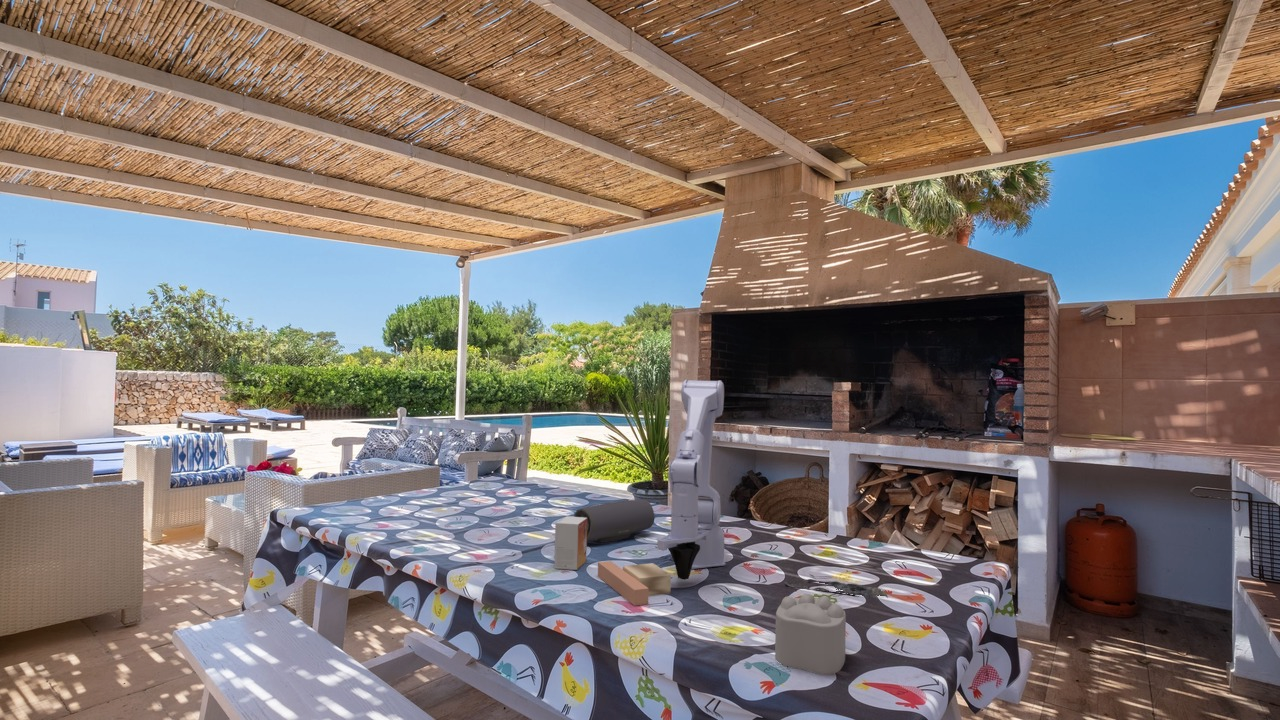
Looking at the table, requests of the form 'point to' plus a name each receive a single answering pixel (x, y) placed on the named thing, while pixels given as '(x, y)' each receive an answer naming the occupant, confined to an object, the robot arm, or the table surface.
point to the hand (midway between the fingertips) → (683, 578)
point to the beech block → (651, 577)
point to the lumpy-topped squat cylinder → (810, 634)
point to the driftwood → (848, 588)
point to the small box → (570, 543)
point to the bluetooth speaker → (617, 519)
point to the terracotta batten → (623, 583)
